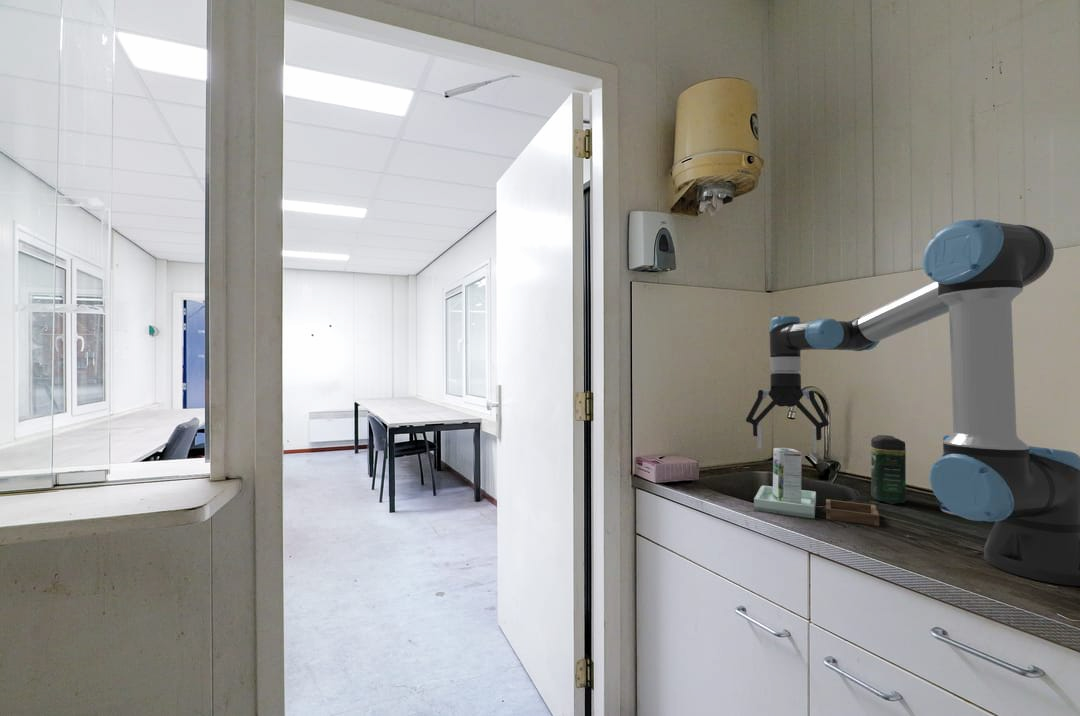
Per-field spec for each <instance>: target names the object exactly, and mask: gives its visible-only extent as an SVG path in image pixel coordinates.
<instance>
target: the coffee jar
mask: <svg viewBox="0 0 1080 716" xmlns="http://www.w3.org/2000/svg"><path fill="white" fill-rule="evenodd" d="M870 443H871V444H870V445H871V446H870V452H871V453H870V454H871V457H870V458H871V461H870V462H871V465H870V466H871V468H870V469H871V471H870V472H871V473H870V474H871V475H870V476H871V478H870V479H871V482H870V483H871V484H870V488H871V489H870V490H871V491H870V493H871V497H872V498H873V499H874V500H876V501H880V502H885V503H887V504H904V503H906V501H907V500H906V499H907V498H906V497H907V494H906V493H907V492H906V491H907V490H906V489H907V486H906V485H907V483H906V477H907V475H906V473H907V471H906V468H907V467H906V465H907V464H906V463H907V462H906V461H907V460H906V453H907V451H906V442H905V441H903V440H902V439H899V438H896V437H895V436H893V435H887V434H884V435H883V434H878V435H876V436H874V437H872V438H871V440H870Z"/></svg>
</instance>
